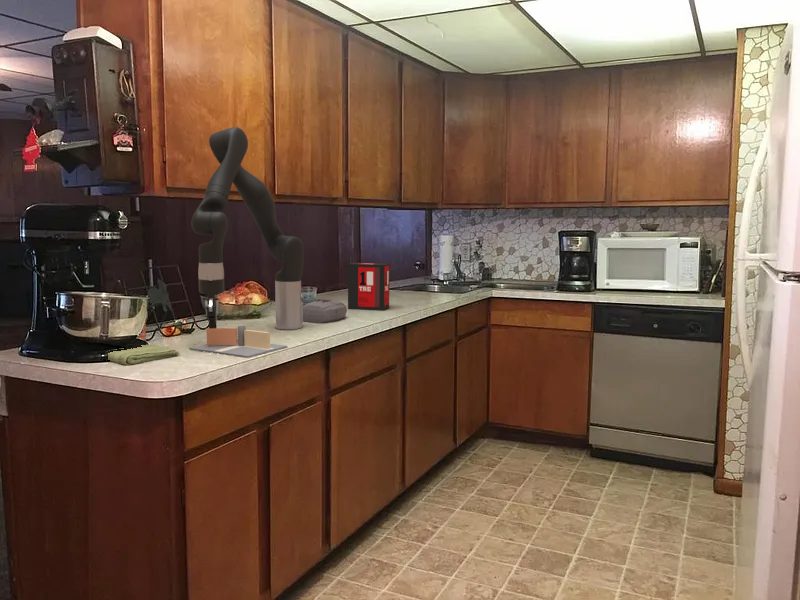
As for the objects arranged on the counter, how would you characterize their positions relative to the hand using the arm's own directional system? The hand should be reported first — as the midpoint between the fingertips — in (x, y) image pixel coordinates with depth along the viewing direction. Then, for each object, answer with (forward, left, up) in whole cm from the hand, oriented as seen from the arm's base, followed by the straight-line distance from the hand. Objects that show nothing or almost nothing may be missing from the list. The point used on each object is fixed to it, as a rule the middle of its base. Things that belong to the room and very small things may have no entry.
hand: (212, 332), depth 203 cm
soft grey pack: (-63, -2, -5) cm, 63 cm away
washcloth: (+23, -5, -5) cm, 24 cm away
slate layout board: (-1, +9, -4) cm, 10 cm away
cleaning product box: (-99, -3, -4) cm, 99 cm away
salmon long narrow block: (0, +4, -3) cm, 5 cm away
